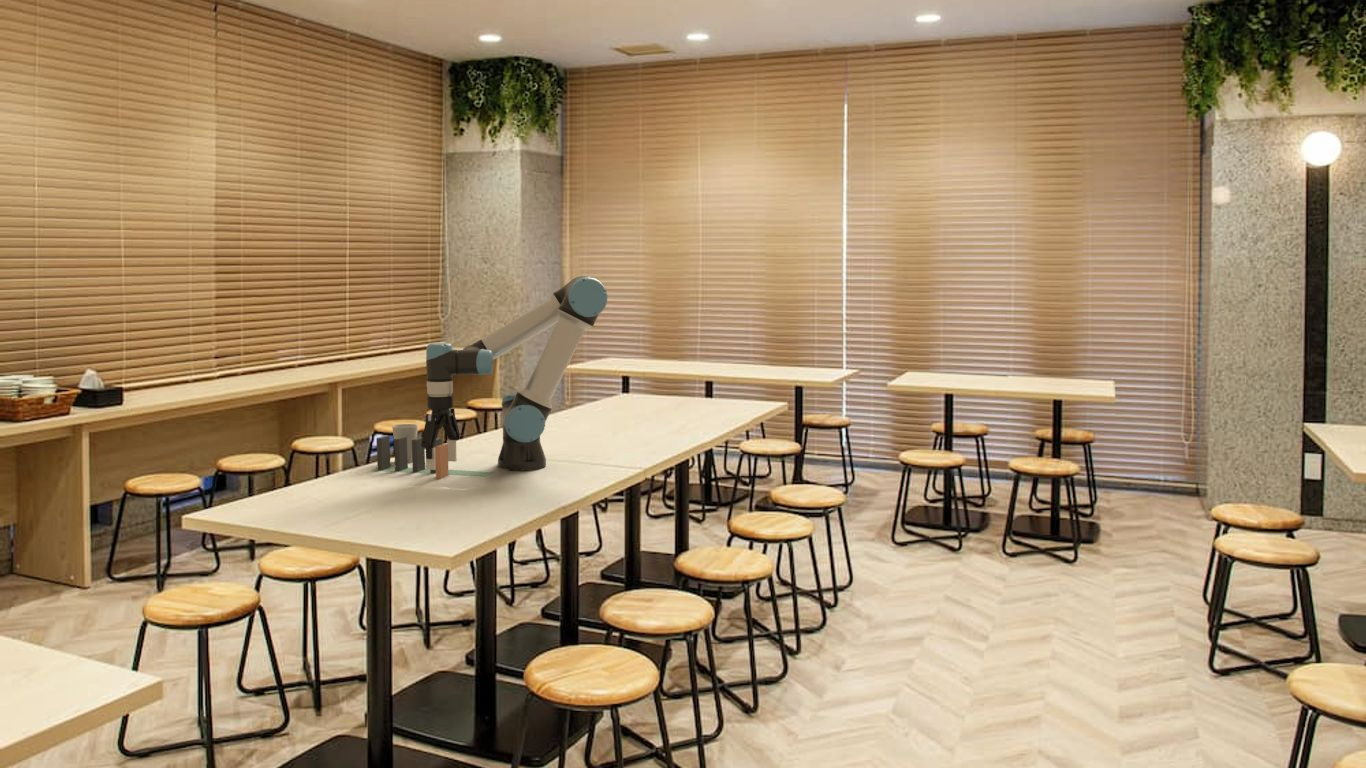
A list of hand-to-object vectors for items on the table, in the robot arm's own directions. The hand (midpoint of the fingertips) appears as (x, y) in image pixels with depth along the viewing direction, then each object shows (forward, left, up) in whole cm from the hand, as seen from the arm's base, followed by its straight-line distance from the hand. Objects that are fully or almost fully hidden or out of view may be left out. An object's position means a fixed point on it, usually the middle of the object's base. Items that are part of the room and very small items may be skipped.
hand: (441, 465), depth 324 cm
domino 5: (0, 0, -4) cm, 4 cm away
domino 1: (+23, -7, -3) cm, 25 cm away
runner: (+7, -7, -4) cm, 11 cm away
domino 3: (+11, -7, -3) cm, 14 cm away
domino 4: (+5, -7, -3) cm, 10 cm away
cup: (+23, -20, -4) cm, 31 cm away
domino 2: (+17, -7, -3) cm, 19 cm away
